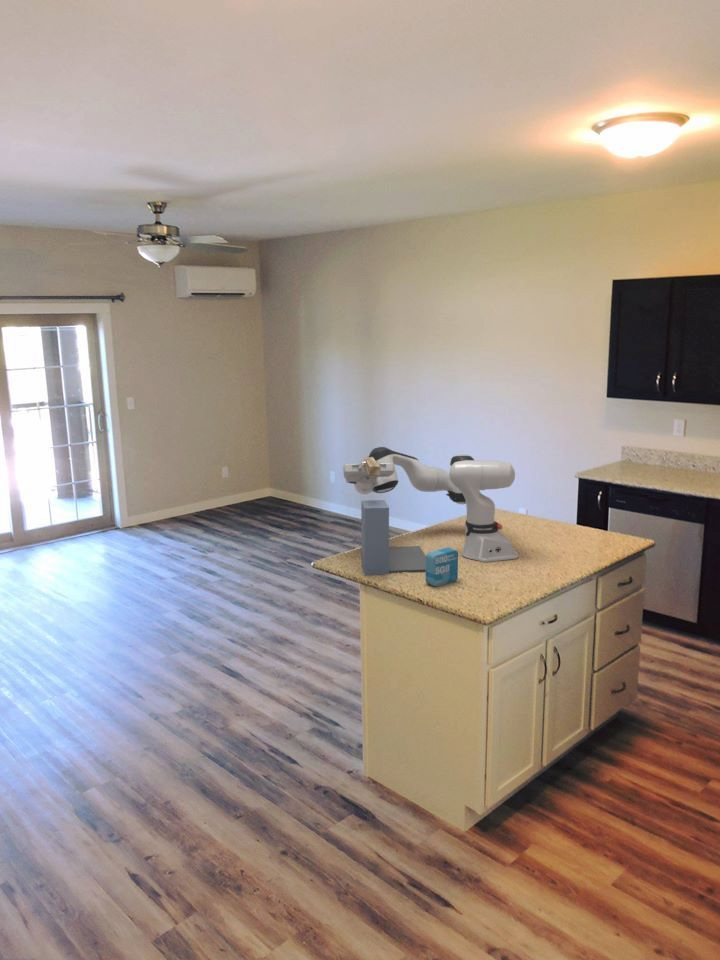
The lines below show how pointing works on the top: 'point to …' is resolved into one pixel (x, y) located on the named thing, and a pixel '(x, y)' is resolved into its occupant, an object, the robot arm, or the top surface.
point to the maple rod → (371, 466)
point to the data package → (441, 566)
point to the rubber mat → (406, 559)
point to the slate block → (375, 537)
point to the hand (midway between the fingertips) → (370, 463)
